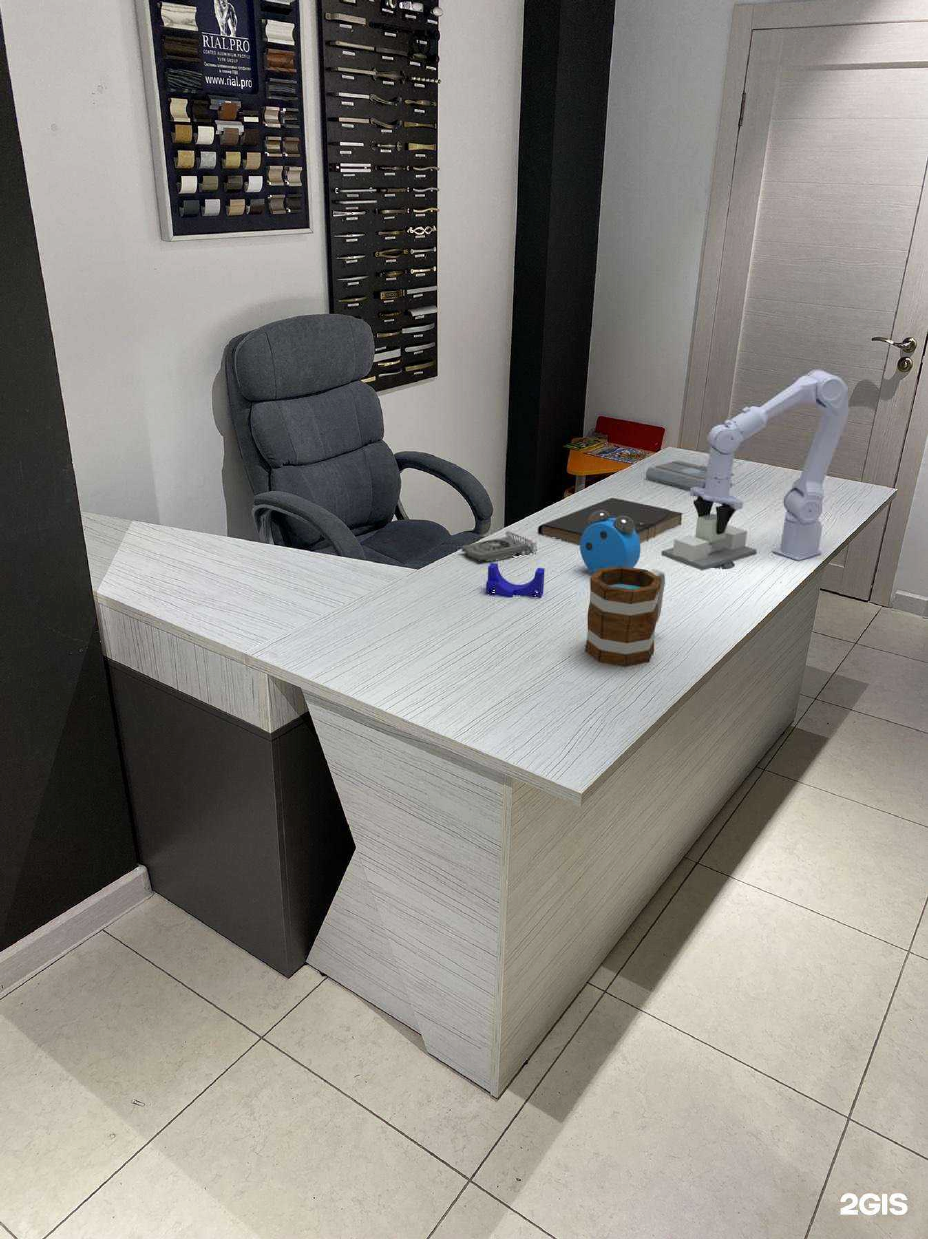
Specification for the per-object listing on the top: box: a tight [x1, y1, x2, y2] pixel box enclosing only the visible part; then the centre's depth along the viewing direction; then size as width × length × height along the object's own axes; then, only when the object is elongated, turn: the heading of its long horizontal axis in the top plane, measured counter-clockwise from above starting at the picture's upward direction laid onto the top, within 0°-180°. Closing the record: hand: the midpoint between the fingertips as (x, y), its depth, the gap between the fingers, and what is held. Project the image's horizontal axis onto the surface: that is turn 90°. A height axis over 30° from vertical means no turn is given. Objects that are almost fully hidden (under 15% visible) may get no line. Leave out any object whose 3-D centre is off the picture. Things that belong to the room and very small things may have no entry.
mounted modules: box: [672, 524, 748, 562], centre depth 234 cm, size 20×6×4 cm, turn 127°
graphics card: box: [461, 530, 538, 562], centre depth 234 cm, size 17×4×12 cm
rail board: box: [661, 542, 758, 571], centre depth 235 cm, size 20×13×1 cm, turn 127°
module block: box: [694, 512, 727, 542], centre depth 232 cm, size 6×4×5 cm
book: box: [645, 460, 735, 492], centre depth 295 cm, size 21×16×5 cm
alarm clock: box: [579, 510, 641, 574], centre depth 218 cm, size 13×6×15 cm, turn 47°
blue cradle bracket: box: [485, 562, 546, 599], centre depth 209 cm, size 12×4×6 cm, turn 75°
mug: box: [584, 566, 666, 668], centre depth 183 cm, size 20×14×15 cm
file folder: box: [537, 497, 684, 546], centre depth 252 cm, size 33×4×24 cm
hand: (711, 530), depth 233 cm, fingers closed on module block, 4 cm apart
